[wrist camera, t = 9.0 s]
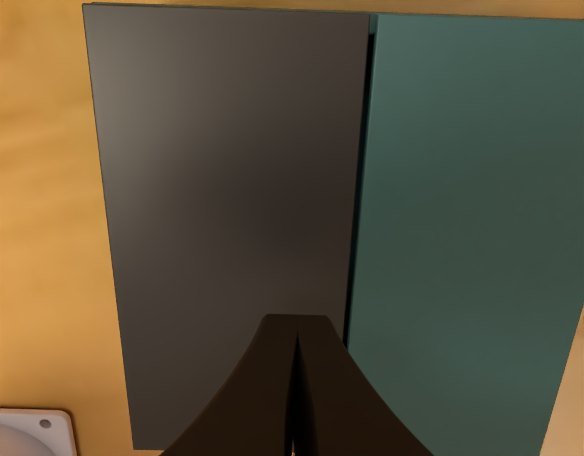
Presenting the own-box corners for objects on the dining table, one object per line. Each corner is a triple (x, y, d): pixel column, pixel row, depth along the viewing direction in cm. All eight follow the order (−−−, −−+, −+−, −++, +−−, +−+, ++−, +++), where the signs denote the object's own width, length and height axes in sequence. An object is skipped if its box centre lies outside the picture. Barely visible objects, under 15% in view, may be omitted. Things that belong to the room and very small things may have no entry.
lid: (135, 442, 16) (133, 450, 16) (86, 3, 11) (80, 2, 11) (332, 444, 16) (333, 453, 16) (368, 13, 11) (371, 13, 11)
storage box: (174, 336, 22) (130, 451, 16) (152, 8, 17) (76, 0, 11) (474, 345, 22) (540, 463, 16) (540, 22, 17) (671, 21, 11)
